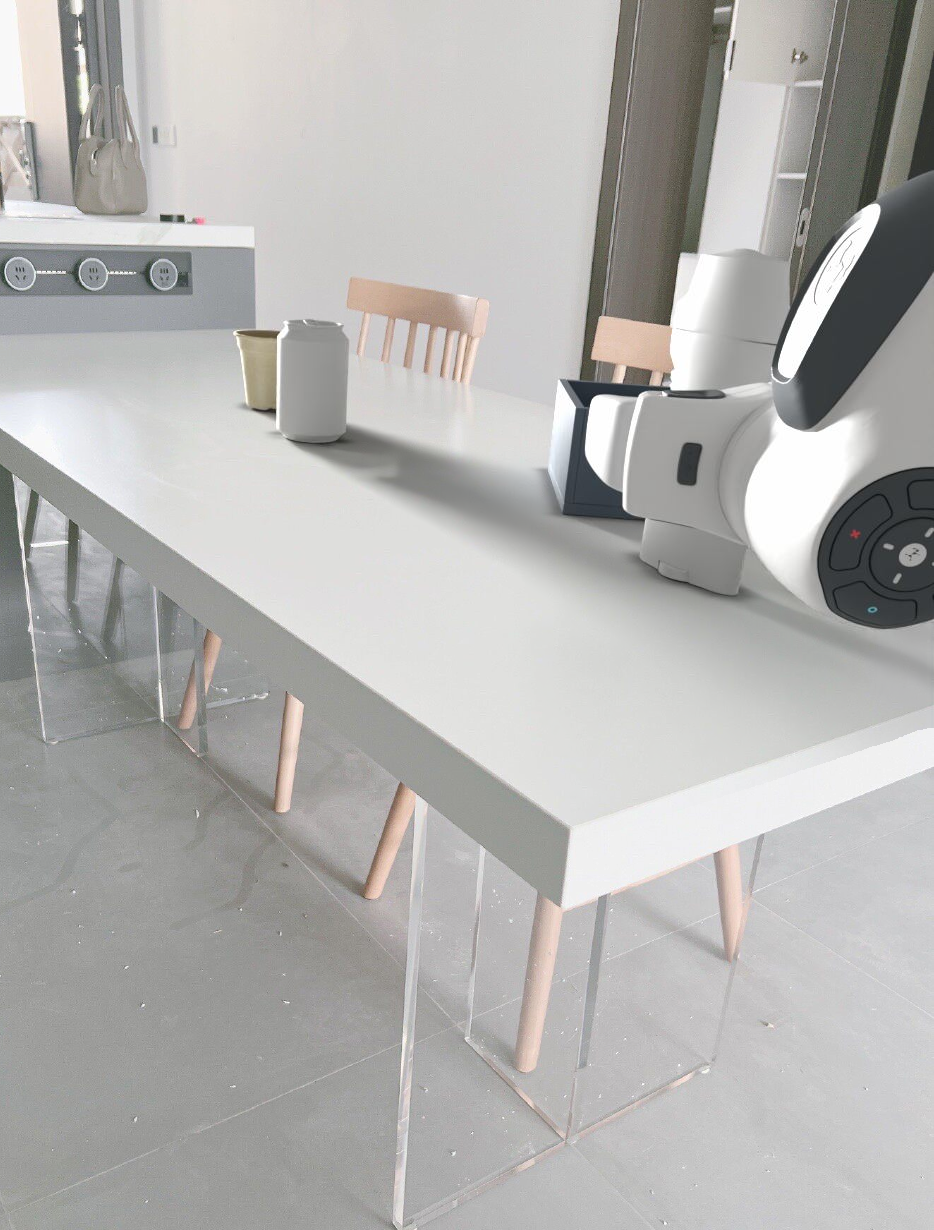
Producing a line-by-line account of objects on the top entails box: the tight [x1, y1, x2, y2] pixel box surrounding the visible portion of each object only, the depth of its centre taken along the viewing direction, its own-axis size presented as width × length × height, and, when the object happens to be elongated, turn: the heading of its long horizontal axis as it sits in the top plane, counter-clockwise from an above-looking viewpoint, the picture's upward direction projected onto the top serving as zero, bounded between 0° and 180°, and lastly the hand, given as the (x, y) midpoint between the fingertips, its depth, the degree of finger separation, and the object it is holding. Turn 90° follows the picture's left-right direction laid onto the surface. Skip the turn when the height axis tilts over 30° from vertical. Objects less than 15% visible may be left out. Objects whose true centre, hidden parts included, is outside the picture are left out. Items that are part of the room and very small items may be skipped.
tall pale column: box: [638, 248, 791, 596], centre depth 73 cm, size 11×4×22 cm, turn 29°
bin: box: [547, 378, 671, 521], centre depth 98 cm, size 12×18×9 cm, turn 177°
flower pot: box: [233, 329, 283, 411], centre depth 129 cm, size 9×9×9 cm
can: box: [276, 318, 350, 444], centre depth 113 cm, size 8×8×12 cm
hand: (734, 420), depth 68 cm, fingers open, 8 cm apart
